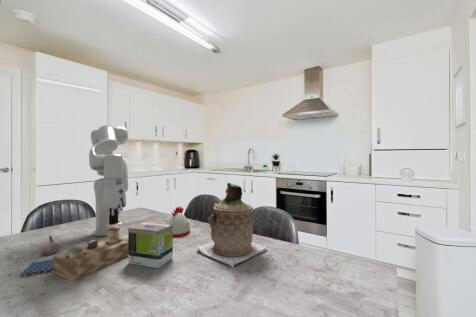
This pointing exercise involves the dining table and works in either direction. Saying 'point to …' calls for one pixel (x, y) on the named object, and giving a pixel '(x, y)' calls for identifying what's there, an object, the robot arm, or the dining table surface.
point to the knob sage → (75, 251)
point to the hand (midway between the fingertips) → (113, 223)
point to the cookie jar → (231, 230)
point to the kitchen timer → (179, 223)
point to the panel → (90, 259)
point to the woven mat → (39, 268)
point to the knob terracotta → (113, 235)
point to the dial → (92, 244)
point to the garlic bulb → (50, 247)
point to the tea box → (150, 244)
